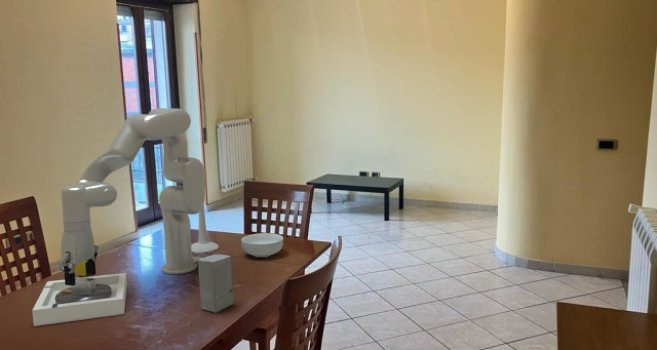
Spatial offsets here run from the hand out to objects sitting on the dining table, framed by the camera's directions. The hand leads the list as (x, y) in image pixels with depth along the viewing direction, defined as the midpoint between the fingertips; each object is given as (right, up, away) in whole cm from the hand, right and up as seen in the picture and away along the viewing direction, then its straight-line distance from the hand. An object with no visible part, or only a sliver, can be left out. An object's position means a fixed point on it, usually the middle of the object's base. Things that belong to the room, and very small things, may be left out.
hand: (80, 279), depth 162 cm
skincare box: (+42, -8, -1) cm, 43 cm away
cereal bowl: (+50, 0, +50) cm, 71 cm away
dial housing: (0, -8, +2) cm, 8 cm away
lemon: (-11, -5, +26) cm, 29 cm away
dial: (0, -6, +1) cm, 6 cm away
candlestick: (+24, +1, +59) cm, 63 cm away
